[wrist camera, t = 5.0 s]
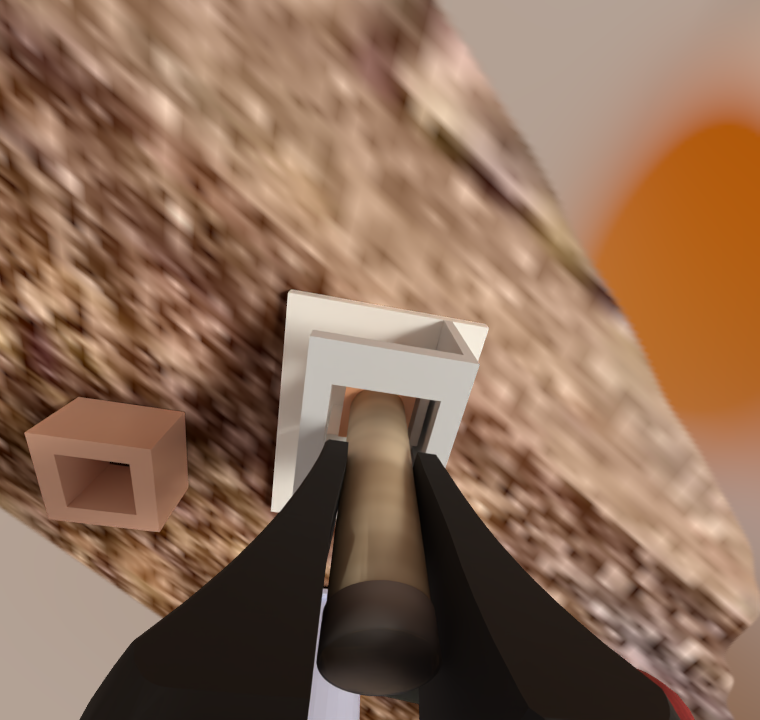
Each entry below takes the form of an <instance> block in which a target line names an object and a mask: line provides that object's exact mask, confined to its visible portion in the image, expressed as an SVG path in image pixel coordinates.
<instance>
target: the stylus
mask: <svg viewBox="0 0 760 720" xmlns="http://www.w3.org/2000/svg"><path fill="white" fill-rule="evenodd" d="M346 442H349V444H348V457H347V463H346V468H345V473H344V479H343V484H342V488H341V493H340V498H339V504H338V512H337V520H336V528H335V536H334V544H333V552H332V560H331V569H330V577H329V585H328V593H327V601H326V604H325V606H324V609H323V613H322V621H321V629H320V636H319V644H318V652H317V660H316V664H317V669H318V671H319V673H320V674H321V676H322V677H323V678H324V679H325V680H326V681H327V682H329V683H330V684H332V685H333V686H335V687H337V688H339V689H341V690H344V691H347V692H350V693H354V694H359V695H366V696H389V695H396V694H402V693H406V692H409V691H412V690H415V689H417V688H419V687H421V686H423V685H425V684H427V683H428V682H429V681H431V680H432V679H433V678H434V677H435V676H436V675H437V674H438V672H439V670H440V668H441V665H442V656H441V649H440V642H439V635H438V628H437V621H436V614H435V608H434V605H433V603H432V602H431V597H430V589H429V582H428V575H427V568H426V561H425V553H424V546H423V539H422V532H421V524H420V517H419V510H418V503H417V496H416V488H415V481H414V474H413V467H412V459H411V452H410V445H409V438H408V431H407V423H406V416H405V409H404V404H403V402H402V400H401V398H400V397H399V396H398V395H397V394H391V393H384V392H378V391H371V390H363V391H362V392H360V393H359V394H358V395H357V396H356V397H355V398H354V399H353V401H352V403H351V407H350V414H349V422H348V430H347V439H346Z"/></svg>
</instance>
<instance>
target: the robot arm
mask: <svg viewBox="0 0 760 720" xmlns="http://www.w3.org/2000/svg"><path fill="white" fill-rule="evenodd" d="M348 444H349V442H345V441H338V440H331V439H329V440H327V441H326V442H325V443H324V446H323V449H322V451H321V453H320V455H319V457H318V459H317V460H316V462H315V464H314V465H313V467H312V469H311V470H310V472H309V473H308V475H307V476H306V478H305V479H304V481H303V482H302V484H301V485H300V486H299V488H298V489H297V490H296V492H295V493H294V494H293V496H292V497H291V498H290V499H289V501H288V502H287V503H286V504H285V506H284V507H283V508H282V509H281V511H280V512H279V513H278V514H277V515H276V517H275V518H274V519H273V520H272V521H271V522H270V523H269V524H268V526H267V527H266V528H265V529H264V530H263V531H262V532H261V533H260V534H259V535H258V536H257V537H256V538H255V539H254V540H253V541H252V542H251V543H250V544H249V545H248V546H247V547H246V548H245V549H244V550H243V551H242V552H241V553H240V554H239V555H238V556H237V557H236V558H235V559H234V560H233V561H232V562H231V563H230V564H228V565H227V566H226V567H225V568H224V569H223V570H222V571H221V572H219V573H218V574H217V575H216V576H215V577H214V578H212V579H211V580H210V581H209V582H208V583H207V584H205V585H204V586H203V587H202V588H201V589H200V590H198V591H197V592H196V593H195V594H194V595H193V596H191V597H190V598H189V599H188V600H186V601H185V602H184V603H183V604H181V605H180V606H179V607H177V608H176V609H175V610H173V611H172V612H171V613H169V614H168V615H167V616H165V617H164V618H163V619H162V620H160V621H159V622H158V623H156V624H155V625H154V626H152V627H151V628H150V629H148V630H147V631H146V632H144V633H143V634H142V635H141V636H139V637H138V638H136V639H135V640H134V641H133V642H132V643H131V644H130V646H129V647H128V648H127V649H126V651H125V652H124V653H123V655H122V656H121V657H120V659H119V660H118V661H117V663H116V664H115V665H114V667H113V668H112V669H111V671H110V672H109V674H108V675H107V677H106V678H105V680H104V681H103V682H102V684H101V685H100V687H99V688H98V690H97V691H96V693H95V694H94V696H93V697H92V699H91V700H90V702H89V704H88V705H87V707H86V709H85V711H84V713H83V714H82V716H81V718H80V720H359V711H360V695H359V694H354V693H350V692H347V691H344V690H341V689H339V688H337V687H335V686H333V685H332V684H330V683H329V682H327V681H326V680H325V679H324V678H323V677H322V676H321V674H320V673H319V671H318V669H317V664H316V660H317V652H318V644H319V636H320V629H321V621H322V613H323V609H324V606H325V604H326V601H327V593H328V589H324V588H323V585H324V577H325V569H326V562H327V557H328V553H329V549H330V544H331V540H332V536H333V531H334V527H335V522H336V517H337V511H338V504H339V498H340V493H341V488H342V484H343V479H344V473H345V468H346V463H347V457H348ZM413 474H414V481H415V488H416V496H417V503H418V510H419V517H420V524H421V532H422V539H423V546H424V553H425V561H426V568H427V575H428V582H429V589H430V597H431V602H432V603H433V605H434V608H435V614H436V621H437V628H438V635H439V642H440V649H441V656H442V665H441V668H440V670H439V672H438V674H437V675H436V676H435V677H434V678H433V679H432V680H431V681H429V682H428V683H427V684H425V685H423V686H421V687H419V720H681V719H680V717H679V716H678V714H677V712H676V711H675V709H674V707H673V706H672V704H671V702H670V700H669V699H668V697H667V696H666V694H665V692H664V691H663V689H662V688H661V687H659V686H658V685H657V684H656V683H654V682H653V681H652V680H650V679H649V678H648V677H647V676H645V675H644V674H643V673H641V672H640V671H639V670H638V669H636V668H635V667H634V666H632V665H631V664H630V663H628V662H627V661H626V660H625V659H623V658H622V657H621V656H619V655H618V654H617V653H616V652H614V651H613V650H612V649H610V648H609V647H608V646H607V645H605V644H604V643H603V642H602V641H601V640H600V639H598V638H597V637H596V636H595V635H594V634H592V633H591V632H590V631H589V630H588V629H587V628H585V627H584V626H583V625H582V624H581V623H580V622H578V621H577V620H576V619H575V618H574V617H573V616H572V615H571V614H569V613H568V612H567V611H566V610H565V609H564V608H563V607H562V606H561V605H559V604H558V603H557V602H556V601H555V600H554V599H553V598H552V597H551V596H550V595H549V594H548V593H547V592H546V591H545V590H544V589H543V588H542V587H541V586H540V585H539V584H538V583H537V582H535V581H534V579H533V578H532V577H531V576H530V575H529V574H528V573H527V572H526V571H525V570H524V569H523V568H522V567H521V566H520V565H519V564H518V563H517V562H516V561H515V559H514V558H513V557H512V556H511V555H510V554H509V553H508V552H507V551H506V550H505V548H504V547H503V546H502V545H501V544H500V543H499V542H498V540H497V539H496V538H495V537H494V536H493V534H492V533H491V532H490V531H489V529H488V528H487V527H486V525H485V524H484V523H483V522H482V520H481V519H480V518H479V517H478V515H477V514H476V513H475V511H474V510H473V508H472V507H471V506H470V504H469V503H468V501H467V500H466V499H465V497H464V496H463V494H462V493H461V491H460V490H459V488H458V487H457V485H456V484H455V482H454V481H453V479H452V478H451V476H450V475H449V473H448V472H447V470H446V469H445V467H444V466H443V464H442V463H441V461H440V460H439V458H438V457H437V455H436V454H429V453H422V452H417V455H416V458H415V462H414V465H413Z"/></svg>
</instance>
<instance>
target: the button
mask: <svg viewBox="0 0 760 720" xmlns="http://www.w3.org/2000/svg"><path fill="white" fill-rule="evenodd" d="M363 390H365V389H359V388H352V387H346V391H345V397H344V403H343V409H342V415H341V421H340V427H339V434H338V436H340V437H347V430H348V422H349V414H350V407H351V403H352V401H353V399H354V398H355V397H356V396H357V395H358V394H359V393H360V392H362V391H363ZM398 396H399V397H400V398H401V400H402V402H403V404H404V409H405V416H406V423H407V431H408V427H409V423H410V419H411V415H412V412H413V408H414V404H415V400H416V397H410V396H403V395H398Z"/></svg>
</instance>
